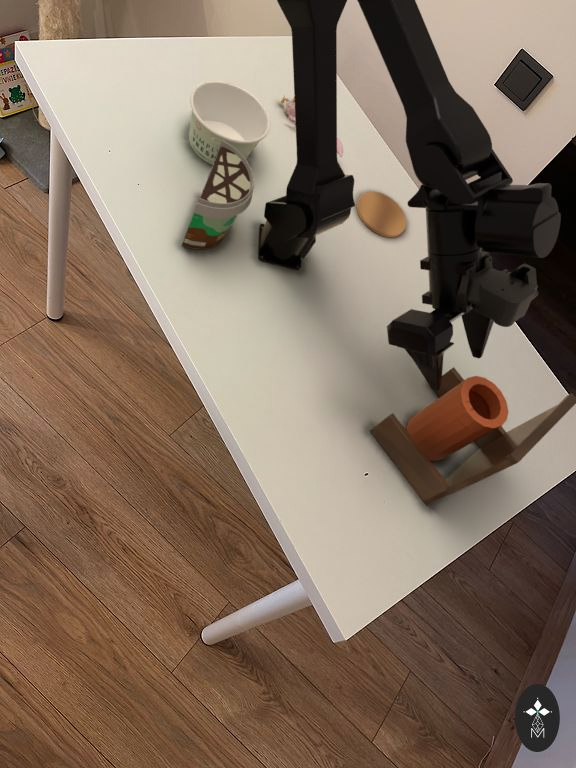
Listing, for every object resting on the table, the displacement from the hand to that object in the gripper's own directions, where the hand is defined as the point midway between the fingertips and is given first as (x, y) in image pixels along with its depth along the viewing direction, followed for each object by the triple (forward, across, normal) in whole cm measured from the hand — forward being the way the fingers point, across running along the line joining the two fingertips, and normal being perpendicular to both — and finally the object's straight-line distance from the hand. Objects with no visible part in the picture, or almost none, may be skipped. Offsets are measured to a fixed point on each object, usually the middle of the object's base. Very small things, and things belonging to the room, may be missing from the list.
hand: (457, 372), depth 72 cm
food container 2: (-17, -8, +34) cm, 38 cm away
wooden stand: (+11, 0, +5) cm, 12 cm away
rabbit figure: (-25, +20, +41) cm, 52 cm away
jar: (+11, 0, +5) cm, 12 cm away
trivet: (-12, +22, +28) cm, 37 cm away
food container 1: (-26, +3, +43) cm, 50 cm away
